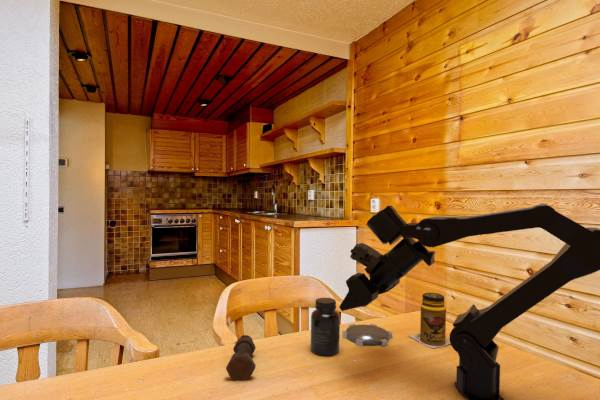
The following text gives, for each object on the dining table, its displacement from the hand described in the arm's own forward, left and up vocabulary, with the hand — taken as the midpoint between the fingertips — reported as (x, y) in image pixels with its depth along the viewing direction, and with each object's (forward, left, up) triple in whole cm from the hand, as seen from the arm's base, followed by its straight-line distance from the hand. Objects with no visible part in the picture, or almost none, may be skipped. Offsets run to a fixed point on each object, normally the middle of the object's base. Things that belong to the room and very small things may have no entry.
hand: (349, 303), depth 82 cm
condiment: (-23, -10, -13) cm, 28 cm away
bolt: (+24, +3, -13) cm, 27 cm away
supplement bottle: (+5, -4, -12) cm, 14 cm away
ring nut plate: (-7, -12, -12) cm, 18 cm away
